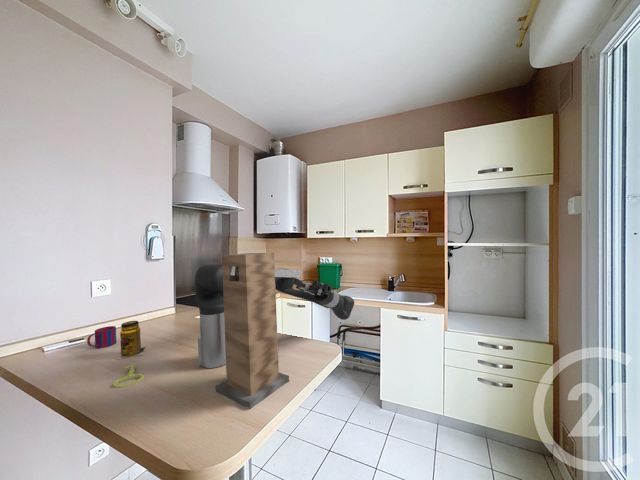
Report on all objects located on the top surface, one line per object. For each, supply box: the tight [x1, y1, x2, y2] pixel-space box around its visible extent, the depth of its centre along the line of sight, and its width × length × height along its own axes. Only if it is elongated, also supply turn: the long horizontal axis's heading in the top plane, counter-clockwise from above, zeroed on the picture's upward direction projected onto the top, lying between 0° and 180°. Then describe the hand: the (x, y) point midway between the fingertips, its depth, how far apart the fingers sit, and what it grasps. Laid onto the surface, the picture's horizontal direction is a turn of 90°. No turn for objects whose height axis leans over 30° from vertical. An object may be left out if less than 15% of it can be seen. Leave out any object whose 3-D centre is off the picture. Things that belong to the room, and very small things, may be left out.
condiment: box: [117, 320, 147, 360], centre depth 95 cm, size 7×8×12 cm
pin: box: [230, 266, 302, 279], centre depth 75 cm, size 24×2×2 cm, turn 138°
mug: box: [86, 325, 117, 349], centre depth 103 cm, size 7×10×7 cm
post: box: [215, 252, 290, 410], centre depth 70 cm, size 14×14×37 cm
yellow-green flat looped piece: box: [112, 363, 145, 389], centre depth 77 cm, size 7×12×2 cm, turn 48°
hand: (304, 281), depth 90 cm, fingers open, 8 cm apart
